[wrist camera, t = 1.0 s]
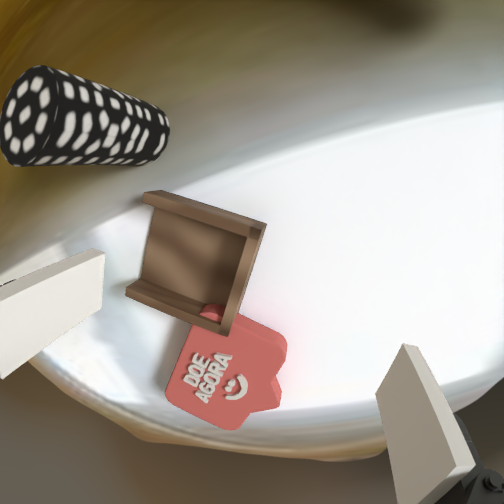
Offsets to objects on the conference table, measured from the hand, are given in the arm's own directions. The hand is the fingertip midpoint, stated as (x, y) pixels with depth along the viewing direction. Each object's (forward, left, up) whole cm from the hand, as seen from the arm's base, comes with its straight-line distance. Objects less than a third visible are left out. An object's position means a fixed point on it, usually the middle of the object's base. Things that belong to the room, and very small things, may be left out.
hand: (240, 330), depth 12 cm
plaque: (+21, 0, -25) cm, 33 cm away
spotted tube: (-6, -21, -26) cm, 34 cm away
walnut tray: (+7, -9, -25) cm, 28 cm away
